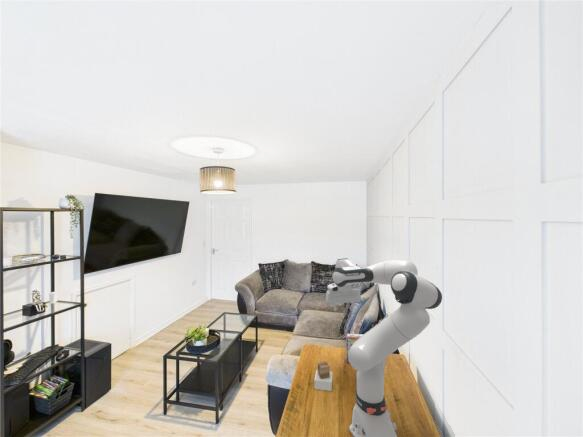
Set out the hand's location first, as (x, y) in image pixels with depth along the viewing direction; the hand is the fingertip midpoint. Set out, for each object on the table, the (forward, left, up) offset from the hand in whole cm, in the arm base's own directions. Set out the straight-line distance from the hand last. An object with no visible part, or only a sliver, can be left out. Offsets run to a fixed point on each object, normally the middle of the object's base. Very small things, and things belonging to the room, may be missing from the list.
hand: (343, 310), depth 141 cm
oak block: (-6, +14, -32) cm, 36 cm away
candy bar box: (+12, -12, -37) cm, 41 cm away
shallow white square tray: (-6, +14, -37) cm, 40 cm away
